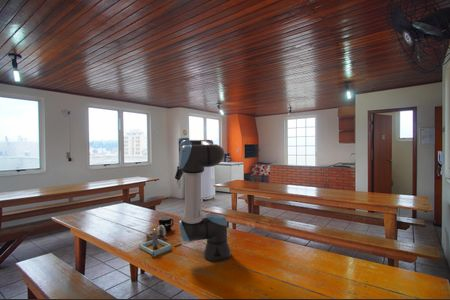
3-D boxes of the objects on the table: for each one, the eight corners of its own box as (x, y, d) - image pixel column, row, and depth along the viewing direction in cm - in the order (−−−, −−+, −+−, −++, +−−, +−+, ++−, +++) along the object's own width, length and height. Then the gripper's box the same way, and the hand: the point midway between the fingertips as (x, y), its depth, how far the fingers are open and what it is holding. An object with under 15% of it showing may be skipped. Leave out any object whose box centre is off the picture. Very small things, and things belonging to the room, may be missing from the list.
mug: (164, 234, 178) (163, 220, 178) (156, 232, 184) (156, 218, 184) (177, 230, 187) (177, 216, 187) (169, 227, 193) (169, 214, 193)
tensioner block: (166, 238, 170) (166, 225, 170) (151, 244, 161) (150, 230, 161) (160, 236, 176) (159, 223, 175) (144, 241, 167) (144, 228, 167)
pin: (158, 248, 154) (158, 229, 153) (154, 250, 151) (153, 230, 151) (156, 247, 156) (155, 228, 155) (151, 248, 153) (151, 229, 153)
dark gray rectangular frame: (181, 244, 160) (181, 243, 160) (176, 247, 156) (176, 246, 156) (166, 240, 168) (166, 239, 168) (160, 242, 164) (160, 242, 164)
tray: (171, 249, 153) (171, 244, 153) (153, 256, 144) (153, 251, 144) (157, 243, 163) (157, 238, 163) (139, 249, 154) (139, 244, 154)
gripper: (200, 159, 170) (201, 191, 171) (177, 158, 187) (178, 187, 188) (191, 160, 165) (192, 192, 166) (169, 159, 182) (170, 188, 182)
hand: (185, 189), depth 177 cm, fingers open, 13 cm apart
